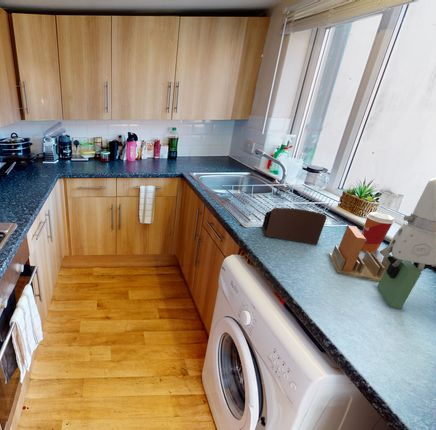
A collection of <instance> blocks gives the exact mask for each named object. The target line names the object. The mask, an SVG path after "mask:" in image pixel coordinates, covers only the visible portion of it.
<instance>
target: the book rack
mask: <svg viewBox="0 0 436 430" xmlns="http://www.w3.org/2000/svg"><path fill="white" fill-rule="evenodd" d="M328 256H329V258H330V260H331V263H332V264H333V266H334V268H335V270H336V273H337V274H339V275H343V276H344V275H345V276H349V277H353V278H359V279H363V280H368V281H374V282H378V283H379V282H380V280H381V278H382V276H383V274H384V272H385V270H386V268H387V266H388V264H389V262H390V261H389V260H388V259H387V258H385V257H384V256H383V258H382V260H381V261H380V259H379V258H378V257H377V256H376V254H375V253H373V252H371V253H369V252H368V251H366V252H365V253H364V255H363V257H361V256H360V255H359V256H358V258H357V261H356V263H355V265H354V267H353V270H352V271H347V270H343V269H342V268H343V265H344V263H345V259H344V257H343V255H342V254H341V252H340V250H339V246H338V245H335V246H334V248H333V250H332V252H329V253H328Z"/></svg>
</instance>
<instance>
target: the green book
mask: <svg viewBox="0 0 436 430" xmlns="http://www.w3.org/2000/svg"><path fill="white" fill-rule="evenodd" d="M413 263H414V262H411V261H405V260H402V262H401V263H400V264H399V265H398V267H399V270H398V272H397V274H396V276H395V278H393V279H392V278H390V277H389V275H388V274H387V272H386V271H387V269H388V267H389V265H390V262H389V264H388V266H387V268H386V270H385V272H384V274H383V276H382V278H381V280H380V282H378V284H377V286H376V288H377V290H378V291H379V293H380V294H381V295H382V297H383V299H384V300H385V302H386V303H387V304H388V306H389V307H390V308H394V309H399V310H401V309H402V308H403V306H404V305H405V303H406V301H407V299H408V298H409V296H410V294H411V293H412V290H413V289H414V288H415V286H416V283H417V282H418V280H419V278H420V277H421V275H422V271H421V272H420V271H419V270H418V269H417V268H416V267H415V266H414V264H413Z"/></svg>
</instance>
